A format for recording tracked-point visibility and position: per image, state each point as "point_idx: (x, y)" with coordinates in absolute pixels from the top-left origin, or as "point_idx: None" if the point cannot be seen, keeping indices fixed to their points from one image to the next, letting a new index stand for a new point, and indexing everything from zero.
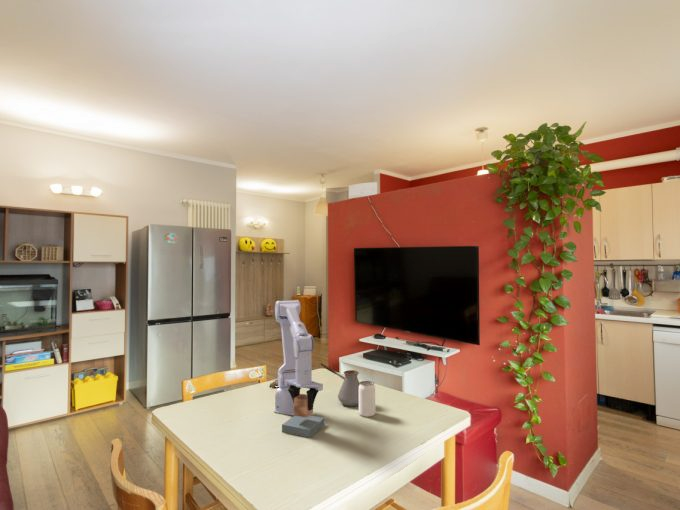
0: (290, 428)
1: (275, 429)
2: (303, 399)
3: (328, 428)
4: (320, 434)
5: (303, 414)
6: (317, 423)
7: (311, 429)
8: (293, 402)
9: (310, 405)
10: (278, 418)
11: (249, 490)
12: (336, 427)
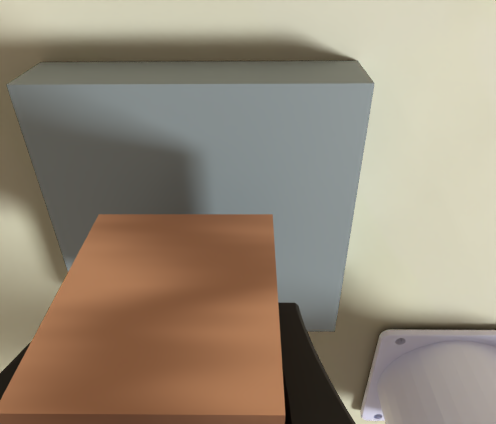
0: (258, 77)
1: (444, 84)
2: (59, 415)
3: (38, 257)
4: (12, 153)
5: (132, 233)
6: (57, 235)
7: (21, 117)
8: (315, 357)
9: (22, 355)
10: (491, 266)
11: None
12: (3, 285)
